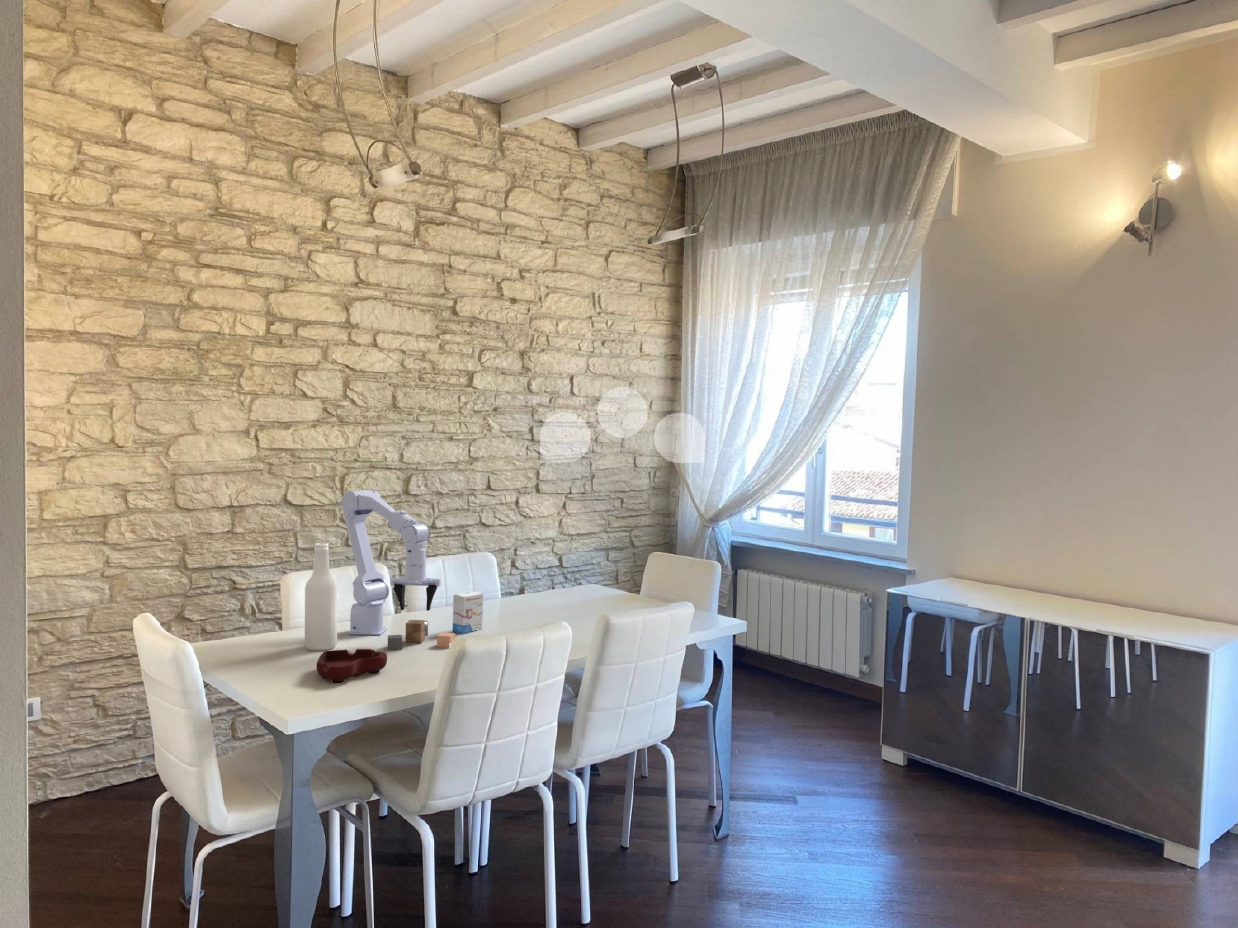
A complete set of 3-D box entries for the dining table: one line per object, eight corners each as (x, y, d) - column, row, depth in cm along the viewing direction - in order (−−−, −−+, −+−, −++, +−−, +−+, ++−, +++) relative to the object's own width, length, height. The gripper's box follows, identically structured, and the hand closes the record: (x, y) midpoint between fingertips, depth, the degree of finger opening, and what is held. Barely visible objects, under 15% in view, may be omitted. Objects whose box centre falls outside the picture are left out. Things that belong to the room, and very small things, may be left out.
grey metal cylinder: (413, 636, 270) (413, 623, 270) (416, 633, 274) (416, 620, 274) (426, 636, 270) (426, 623, 270) (429, 633, 274) (429, 620, 274)
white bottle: (299, 650, 251) (300, 545, 249) (311, 643, 259) (311, 541, 258) (330, 651, 250) (331, 546, 249) (341, 643, 259) (341, 541, 258)
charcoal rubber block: (387, 650, 253) (387, 638, 253) (387, 647, 257) (387, 635, 257) (402, 650, 254) (402, 637, 254) (401, 646, 258) (401, 634, 258)
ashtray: (351, 661, 242) (351, 643, 242) (393, 672, 233) (393, 653, 233) (295, 676, 227) (295, 657, 227) (337, 688, 218) (337, 668, 218)
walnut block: (405, 643, 262) (405, 623, 261) (409, 639, 266) (409, 619, 266) (421, 643, 261) (421, 623, 261) (424, 639, 266) (424, 620, 266)
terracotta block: (436, 647, 258) (437, 635, 258) (442, 643, 262) (442, 632, 262) (449, 648, 257) (450, 636, 257) (454, 644, 261) (455, 633, 261)
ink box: (463, 634, 274) (463, 596, 273) (451, 631, 277) (452, 594, 276) (483, 629, 281) (483, 592, 280) (472, 626, 284) (472, 590, 283)
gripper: (387, 565, 259) (387, 612, 259) (437, 567, 259) (437, 613, 259) (394, 562, 266) (393, 606, 266) (442, 563, 266) (442, 607, 266)
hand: (415, 609), depth 263 cm, fingers open, 7 cm apart
